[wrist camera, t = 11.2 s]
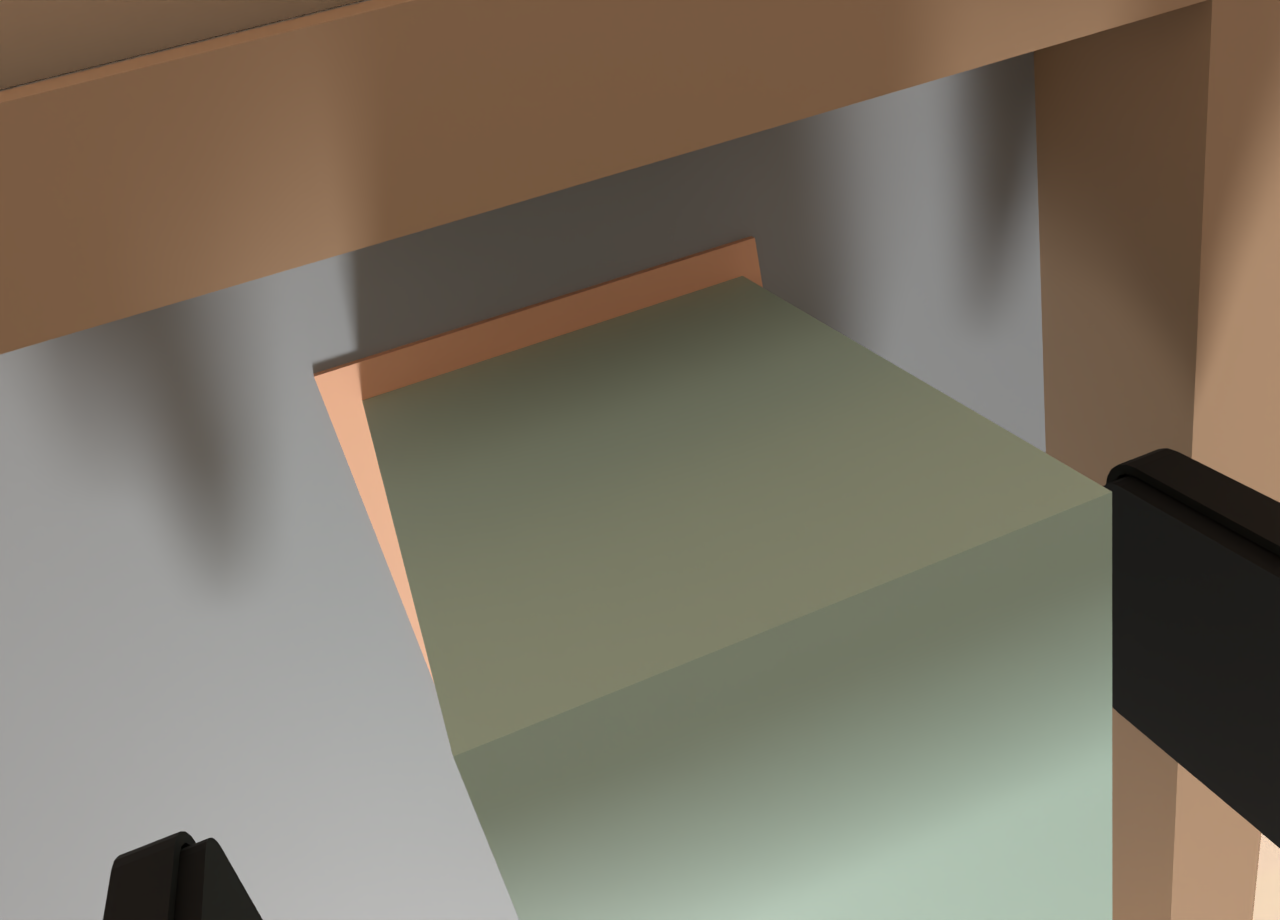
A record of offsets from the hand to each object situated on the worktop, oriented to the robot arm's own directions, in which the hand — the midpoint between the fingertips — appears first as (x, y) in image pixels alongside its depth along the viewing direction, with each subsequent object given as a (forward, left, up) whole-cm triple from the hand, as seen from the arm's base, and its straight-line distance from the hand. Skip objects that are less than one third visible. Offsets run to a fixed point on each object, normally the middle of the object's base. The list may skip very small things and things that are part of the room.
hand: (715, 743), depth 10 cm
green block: (0, 0, -3) cm, 3 cm away
